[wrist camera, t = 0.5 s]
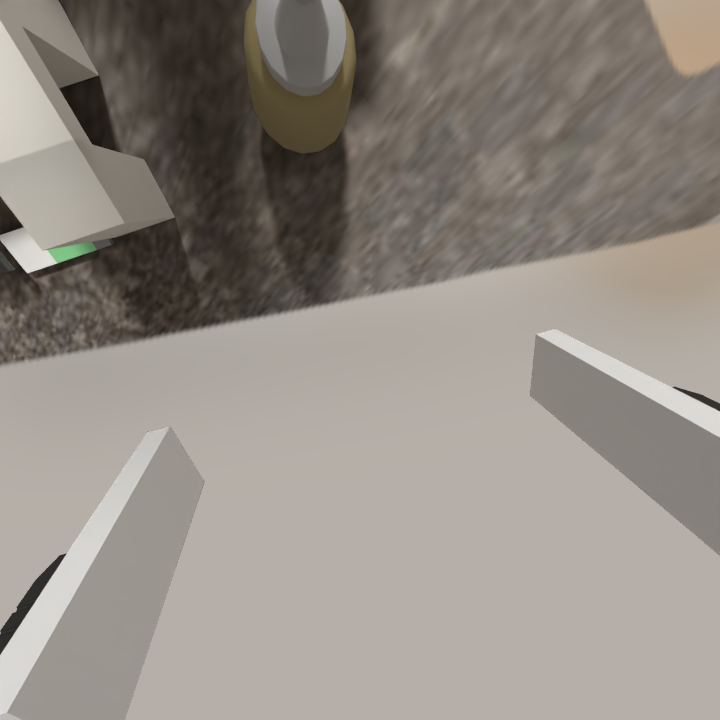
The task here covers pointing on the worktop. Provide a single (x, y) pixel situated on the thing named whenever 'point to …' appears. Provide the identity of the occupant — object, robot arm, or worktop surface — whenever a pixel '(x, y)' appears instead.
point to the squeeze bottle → (300, 70)
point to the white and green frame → (59, 148)
